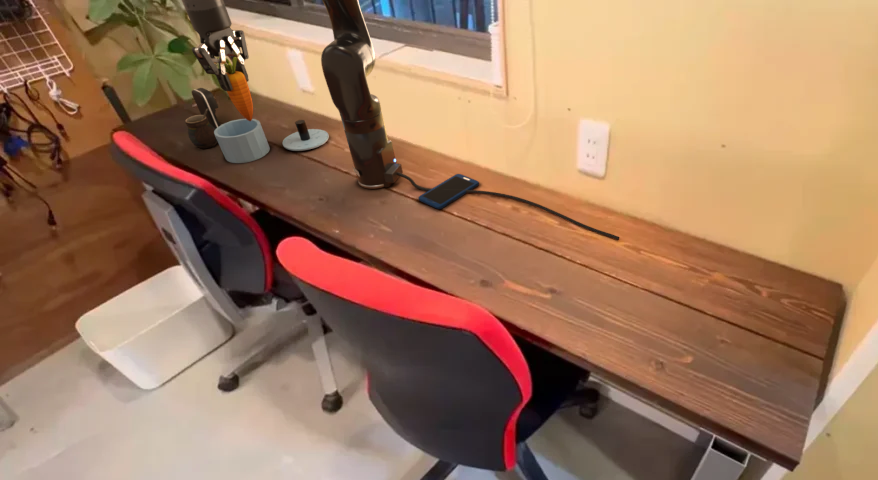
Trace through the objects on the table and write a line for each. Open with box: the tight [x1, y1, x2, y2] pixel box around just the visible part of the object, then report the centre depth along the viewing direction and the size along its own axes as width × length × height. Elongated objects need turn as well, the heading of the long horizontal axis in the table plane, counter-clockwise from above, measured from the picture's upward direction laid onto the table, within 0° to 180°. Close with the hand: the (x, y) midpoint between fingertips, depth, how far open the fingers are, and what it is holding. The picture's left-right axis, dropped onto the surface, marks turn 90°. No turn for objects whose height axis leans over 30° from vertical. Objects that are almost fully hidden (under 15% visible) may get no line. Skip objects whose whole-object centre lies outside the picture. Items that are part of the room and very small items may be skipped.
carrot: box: [216, 57, 254, 121], centre depth 119 cm, size 5×5×15 cm
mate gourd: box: [184, 108, 218, 150], centre depth 145 cm, size 7×8×10 cm
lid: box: [282, 119, 330, 152], centre depth 144 cm, size 13×13×6 cm
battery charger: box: [191, 87, 223, 130], centre depth 153 cm, size 7×4×11 cm, turn 50°
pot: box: [214, 118, 271, 164], centre depth 140 cm, size 12×12×7 cm
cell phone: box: [418, 173, 480, 210], centre depth 122 cm, size 7×14×1 cm, turn 140°
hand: (236, 85), depth 118 cm, fingers closed on carrot, 5 cm apart
